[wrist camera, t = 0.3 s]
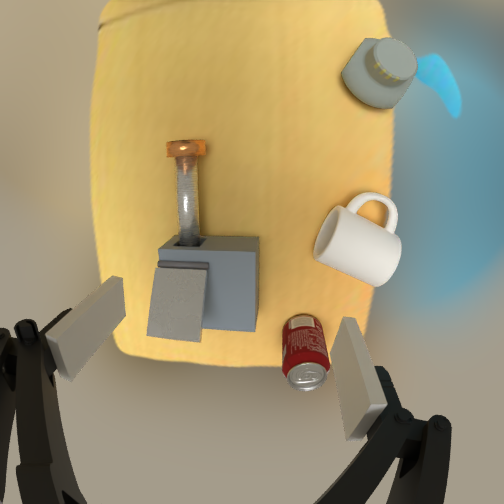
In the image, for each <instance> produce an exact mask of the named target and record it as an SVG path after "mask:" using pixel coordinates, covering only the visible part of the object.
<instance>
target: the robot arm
mask: <svg viewBox="0 0 504 504" xmlns="http://www.w3.org/2000/svg"><path fill="white" fill-rule="evenodd" d="M125 316H126V313H125V302H124V290H123V278H121V277H116V276H111V277H110V278H109V279H108V280H106V281H105V282H104V283H103V284H102V285H100V286H99V287H98V288H97V289H96V290H95V291H93V292H92V293H91V294H90V295H88V296H87V297H86V298H85V299H84V300H83V301H81V302H80V303H79V304H78V305H77V306H76V307H75V308H74V309H71V308H70V309H67V310H65V311H63V312H61V313H60V314H59V315H58V316H57V318H54V319H53V320H52V321H51V322H50V323H49V324H48V325H47V326H45V327H44V328H43V329H42V330H41V331H40V332H39V331H38V328H37V324H36V322H35V321H34V320H31V319H24V320H21V321H19V322H18V323H17V324H16V325H15V327H14V330H15V333H16V336H17V338H13V337H11V335H10V332H9V330H8V329H6V328H0V504H2V502H3V498H4V493H5V483H6V470H7V458H8V450H9V442H10V436H11V430H12V425H13V420H14V415H15V410H16V420H17V421H16V422H17V435H18V445H19V453H20V461H21V463H20V465H18V466H17V467H16V476H17V481H18V486H19V491H20V495H21V499H22V503H23V504H87V502H86V500H85V498H84V497H83V495H82V494H81V492H80V490H79V487H78V484H77V481H76V478H75V475H74V472H73V469H72V465H71V461H70V458H69V454H68V450H67V446H66V442H65V437H64V433H63V428H62V423H61V417H60V411H59V406H58V398H57V390H56V382H55V376H54V373H53V372H54V371H55V370H56V369H57V370H58V372H59V375H60V377H62V378H64V379H66V380H68V381H70V382H72V381H73V379H74V378H75V377H76V375H77V374H78V373H79V372H80V370H81V369H82V368H83V367H84V365H85V364H86V363H87V362H88V360H89V359H90V358H91V357H92V356H93V354H94V353H95V352H96V351H97V349H98V348H99V347H100V346H101V345H102V343H103V342H104V341H105V340H106V338H107V337H108V336H109V335H110V334H111V333H112V331H113V330H114V329H115V328H116V327H117V326H118V324H119V323H120V322H121V321H122V320H123V319H124V317H125ZM330 356H331V361H332V366H333V371H334V376H335V381H336V386H337V392H338V397H339V402H340V407H341V414H342V419H343V425H344V431H345V438H346V441H361V440H362V439H363V437H364V436H365V435H366V434H367V438H368V441H367V443H366V444H365V445H364V446H363V447H362V448H361V450H360V451H359V453H358V454H357V455H356V457H355V458H354V459H353V461H352V462H351V463H350V464H349V465H348V467H347V468H346V469H345V470H344V471H343V473H342V474H341V475H340V476H339V477H338V478H337V479H336V481H335V482H334V483H333V484H332V485H331V486H330V487H329V488H328V489H327V491H325V493H324V494H323V495H322V496H321V497H320V498H319V499H318V500H317V501H316V502H315V503H314V504H365V503H366V501H367V500H368V499H369V497H370V496H371V494H372V493H373V492H374V490H375V489H376V487H377V486H378V484H379V483H380V481H381V480H382V478H383V477H384V475H385V474H386V472H387V471H388V469H389V467H390V466H391V464H392V462H393V461H394V459H395V458H396V457H397V458H400V460H399V464H398V468H397V471H396V474H395V478H394V481H393V485H392V488H391V491H390V494H389V497H388V500H387V503H386V504H443V503H444V498H445V492H446V486H447V478H448V470H449V461H450V449H451V431H452V427H451V423H450V422H449V420H448V419H447V418H446V417H444V416H442V415H434V416H432V417H431V418H430V419H429V420H428V421H423V420H418V419H415V418H414V416H413V415H412V413H411V412H409V411H408V410H407V409H405V408H402V406H401V403H400V401H399V398H398V395H397V393H396V390H395V388H394V387H393V386H394V385H393V383H392V382H391V378H390V375H389V373H388V372H387V371H386V370H385V368H384V367H383V366H374V365H373V362H372V359H371V357H370V354H369V351H368V349H367V346H366V344H365V341H364V338H363V336H362V333H361V331H360V328H359V326H358V324H357V321H356V319H355V318H351V317H343V318H342V321H341V324H340V327H339V330H338V333H337V335H336V338H335V341H334V344H333V346H332V349H331V352H330Z"/></svg>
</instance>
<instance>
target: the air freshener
mask: <svg viewBox="0 0 504 504" xmlns="http://www.w3.org/2000/svg"><path fill="white" fill-rule="evenodd" d="M417 69H418V64H417V59H416V57H415V55H414V54H413V52H412V50H411V49H410V48H409V47H408V46H407V45H406V44H404V43H403V42H401V41H400V40H397V39H394V38H382V39H375V38H365V39H364V41H363V42H362V43H361V45H360V46H359V48H358V49H357V50H356V52H355V53H354V55H353V56H352V57H351V59H350V60H349V62H348V63H347V65H346V66H345V68H344V69H343V71H342V72H341V74H342V78H343V80H344V82H345V84H346V86H347V87H348V89H349V90H350V91H351V92H352V94H353V95H355V96H356V97H357V98H358V99H359V100H361V101H362V102H364V103H366V104H367V105H370V106H372V107H376V108H380V109H390V108H393V107H394V106H395V105H396V104H397V103H398V102H399V100H400V99H401V98H402V97H403V95H404V94H405V92H406V91H407V89H408V87H409V86H410V84H411V82H412V80H413V77H414V76H415V74H416V72H417Z"/></svg>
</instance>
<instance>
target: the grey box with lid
mask: <svg viewBox="0 0 504 504" xmlns="http://www.w3.org/2000/svg"><path fill="white" fill-rule="evenodd" d="M200 245H201V246H200V247H186V246H179V235H175V236H174V237H172V238H171V239H170V240H169V241H167V242H166V243H165V244H164V245H163V246H161V247H160V248H159V249H158V253H159V261H158V267H160V268H171V269H192V270H207V272H208V275H207V285H206V294H205V305H204V315H203V326H202V328H204V329H216V330H230V331H246V332H255V329H256V322H257V315H258V305H259V237H240V236H200Z"/></svg>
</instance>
